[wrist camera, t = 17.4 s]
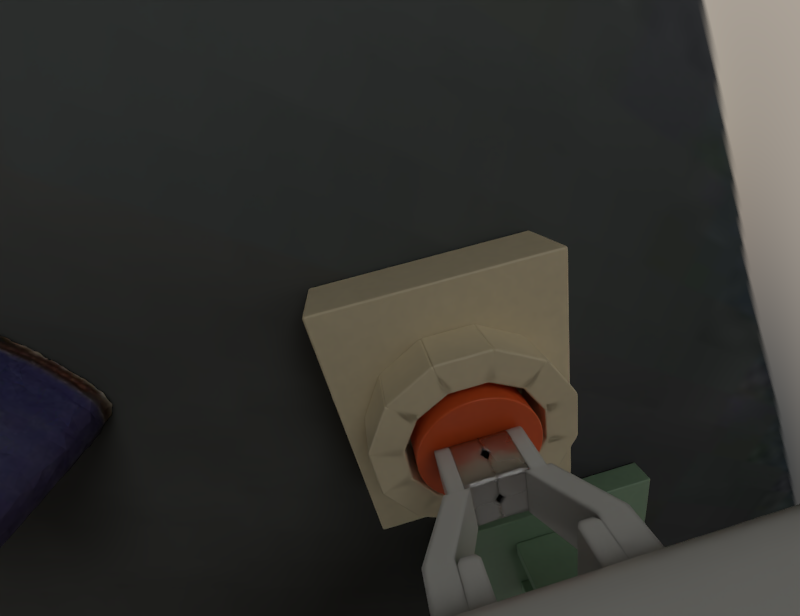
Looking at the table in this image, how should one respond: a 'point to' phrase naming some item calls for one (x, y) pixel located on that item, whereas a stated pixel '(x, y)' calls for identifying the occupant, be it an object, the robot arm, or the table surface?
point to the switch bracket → (546, 539)
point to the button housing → (443, 353)
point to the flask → (40, 428)
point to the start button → (470, 423)
